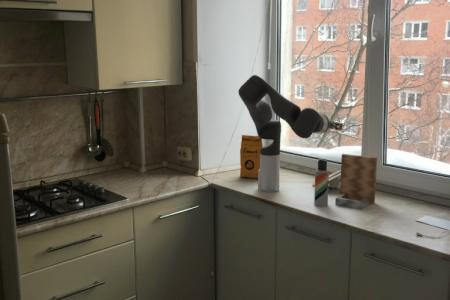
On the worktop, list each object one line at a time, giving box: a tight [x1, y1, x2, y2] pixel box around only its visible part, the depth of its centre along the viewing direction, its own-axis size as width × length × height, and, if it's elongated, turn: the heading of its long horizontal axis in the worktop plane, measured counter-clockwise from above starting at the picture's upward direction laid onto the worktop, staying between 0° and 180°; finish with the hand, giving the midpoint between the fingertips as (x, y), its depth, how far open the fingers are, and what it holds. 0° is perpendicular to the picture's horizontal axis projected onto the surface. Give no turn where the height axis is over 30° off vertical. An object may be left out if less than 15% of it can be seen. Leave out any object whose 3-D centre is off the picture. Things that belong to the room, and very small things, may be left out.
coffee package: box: [239, 134, 264, 180], centre depth 272 cm, size 10×12×22 cm
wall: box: [311, 169, 341, 189], centre depth 252 cm, size 16×9×15 cm
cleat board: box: [335, 153, 378, 210], centre depth 226 cm, size 15×12×20 cm
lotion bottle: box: [313, 158, 330, 208], centre depth 224 cm, size 6×6×20 cm
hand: (326, 123), depth 213 cm, fingers open, 8 cm apart
